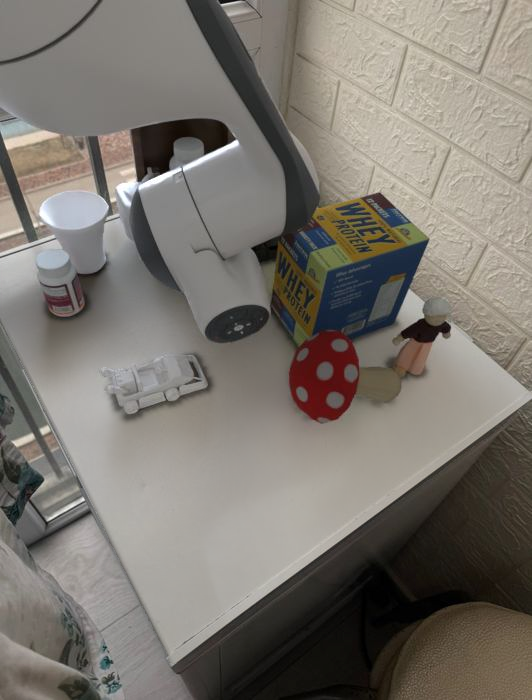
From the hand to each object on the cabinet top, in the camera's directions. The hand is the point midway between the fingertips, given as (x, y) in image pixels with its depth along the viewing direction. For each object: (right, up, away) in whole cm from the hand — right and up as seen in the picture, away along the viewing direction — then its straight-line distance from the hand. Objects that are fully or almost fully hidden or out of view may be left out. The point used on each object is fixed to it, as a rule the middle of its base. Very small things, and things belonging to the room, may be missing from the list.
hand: (187, 169), depth 69 cm
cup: (-16, -12, +6) cm, 21 cm away
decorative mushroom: (+20, -30, -5) cm, 37 cm away
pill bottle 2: (0, -4, +5) cm, 7 cm away
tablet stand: (+16, -9, +12) cm, 22 cm away
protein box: (+20, -20, +3) cm, 29 cm away
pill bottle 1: (-17, -19, 0) cm, 25 cm away
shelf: (-1, -7, +11) cm, 13 cm away
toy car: (-3, -29, -7) cm, 30 cm away
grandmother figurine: (+30, -27, -2) cm, 40 cm away
